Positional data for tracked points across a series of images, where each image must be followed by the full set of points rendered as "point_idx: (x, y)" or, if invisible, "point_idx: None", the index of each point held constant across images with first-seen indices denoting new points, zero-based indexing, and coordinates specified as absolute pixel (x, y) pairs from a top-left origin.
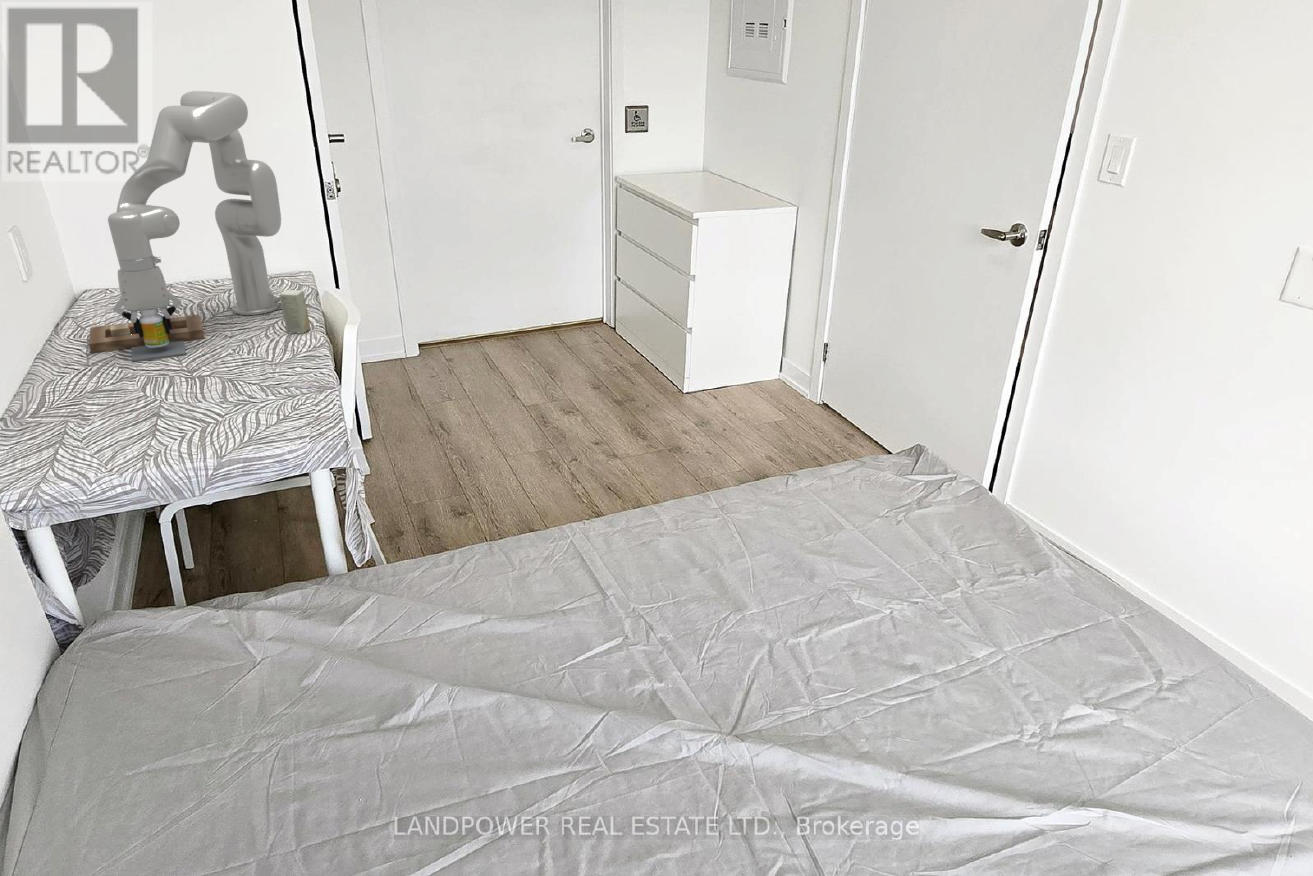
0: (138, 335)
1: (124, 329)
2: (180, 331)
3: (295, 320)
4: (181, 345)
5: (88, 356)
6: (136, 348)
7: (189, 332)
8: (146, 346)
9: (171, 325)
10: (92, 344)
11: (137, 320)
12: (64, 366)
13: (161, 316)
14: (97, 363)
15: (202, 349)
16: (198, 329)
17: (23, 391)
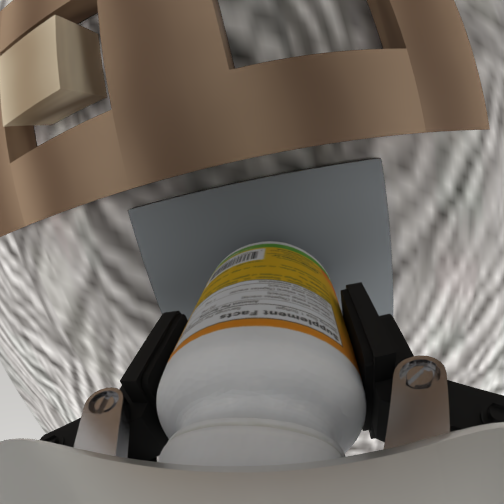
0: (130, 141)
1: (49, 98)
2: (381, 114)
3: None
4: (376, 240)
5: (24, 257)
6: (154, 231)
7: (427, 131)
8: (194, 209)
9: (393, 324)
10: (2, 235)
11: (163, 444)
12: (17, 327)
13: (357, 433)
14: (78, 337)
15: (451, 287)
16: (470, 116)
17: (45, 429)
